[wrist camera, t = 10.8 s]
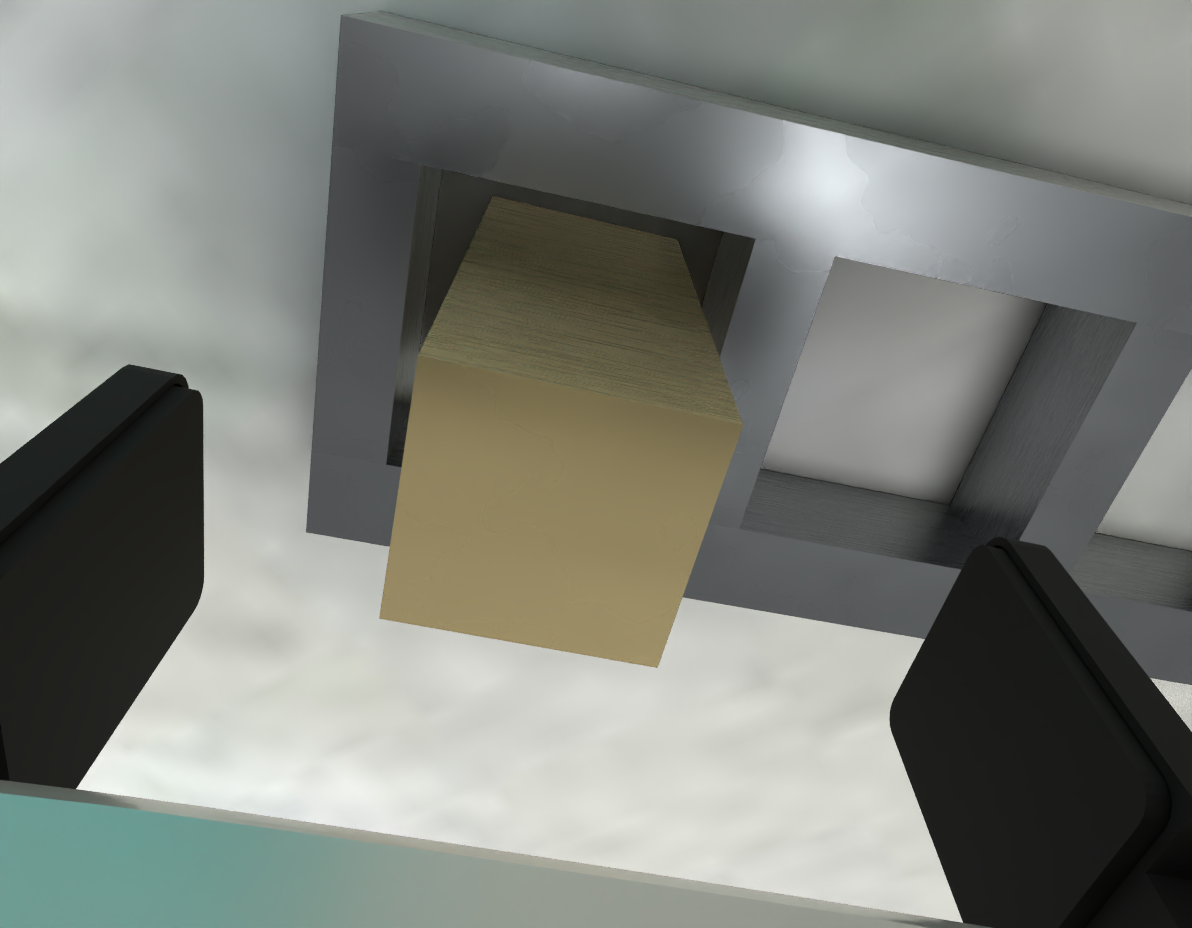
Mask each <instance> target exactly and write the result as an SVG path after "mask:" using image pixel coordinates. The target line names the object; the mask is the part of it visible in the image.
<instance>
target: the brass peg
mask: <svg viewBox="0 0 1192 928" xmlns="http://www.w3.org/2000/svg"><path fill="white" fill-rule="evenodd" d="M742 427H743V423H742V420H741V417H740V414H739V412H738V409H737V406H736V403H735V400H734V398H733V395H732V392H731V389H730V386H729V383H728V381H727V378H726V375H725V372H724V369H723V367H722V364H721V361H720V358H719V355H718V352H717V350H716V347H715V344H714V341H713V338H712V336H711V333H710V330H709V327H708V324H707V321H706V319H705V316H704V313H703V310H702V307H701V304H700V302H699V299H698V296H697V293H696V290H695V288H694V285H693V282H692V279H691V276H690V273H689V271H688V268H687V265H686V262H685V259H684V257H683V254H682V251H681V248H680V245H679V242H678V240H677V239H673V238H669V237H665V236H660V235H656V234H652V233H648V232H643V231H639V230H635V229H631V228H627V227H622V226H618V225H614V224H610V223H606V222H601V221H597V220H593V219H589V218H585V217H580V216H576V215H572V214H568V213H564V212H559V211H555V210H551V209H547V208H543V207H538V206H534V205H530V204H526V203H522V202H517V201H513V200H509V199H505V198H500V197H496V196H493V197H492V199H491V201H490V203H489V205H488V207H487V210H486V212H485V214H484V216H483V218H482V220H481V222H480V225H479V227H478V229H477V231H476V233H475V235H474V237H473V239H472V242H471V244H470V246H469V248H468V250H467V252H466V254H465V256H464V259H463V261H462V263H461V265H460V267H459V269H458V271H457V274H456V276H455V278H454V280H453V282H452V284H451V286H450V288H449V291H448V293H447V295H446V297H445V299H444V301H443V303H442V305H441V308H440V310H439V312H438V314H437V316H436V318H435V320H434V322H433V325H432V327H431V329H430V331H429V333H428V335H427V337H426V340H425V342H424V344H423V346H422V348H421V350H420V352H419V354H418V359H417V366H416V372H415V379H414V386H413V393H412V400H411V407H410V413H409V420H408V427H407V434H406V441H405V447H404V454H403V461H402V468H401V475H400V482H399V488H398V495H397V502H396V509H395V516H394V522H393V529H392V536H391V543H390V550H389V557H388V563H387V570H386V577H385V584H384V591H383V597H382V604H381V611H380V618H379V619H385V620H391V621H396V622H402V623H408V624H413V625H419V626H425V627H430V628H436V629H442V630H447V631H453V632H458V633H464V634H470V635H475V636H481V637H487V638H492V639H498V640H504V641H509V642H515V643H520V644H526V645H532V646H537V647H543V648H549V649H554V650H560V651H566V652H571V653H577V654H583V655H588V656H594V657H599V658H605V659H611V660H616V661H622V662H628V663H633V664H639V665H645V666H650V667H656V668H657V667H658V665H659V662H660V659H661V656H662V653H663V651H664V648H665V645H666V642H667V639H668V636H669V634H670V631H671V628H672V625H673V622H674V619H675V617H676V614H677V611H678V608H679V605H680V602H681V600H682V597H683V594H684V591H685V588H686V585H687V583H688V580H689V577H690V574H691V571H692V569H693V566H694V563H695V560H696V557H697V554H698V552H699V549H700V546H701V543H702V540H703V537H704V535H705V532H706V529H707V526H708V523H709V520H710V518H711V515H712V512H713V509H714V506H715V503H716V501H717V498H718V495H719V492H720V489H721V487H722V484H723V481H724V478H725V475H726V472H727V470H728V467H729V464H730V461H731V458H732V455H733V453H734V450H735V447H736V444H737V441H738V438H739V436H740V433H741V430H742Z"/></svg>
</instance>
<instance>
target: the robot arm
mask: <svg viewBox="0 0 1192 928" xmlns="http://www.w3.org/2000/svg"><path fill="white" fill-rule="evenodd" d="M203 584H204V480H203V399H202V396H201V393H200V392H199V391H197V390H192V389H189V388H188V384H187V381H186V378H185V377H184V376H183V375H181V374H176V373H170V372H165V371H160V370H155V369H150V368H145V367H140V366H135V365H127V366H124V367H123V368H121V369H120V370H119V371H117V372H116V373H115V374H114V375H112V376H111V377H110V378H109V379H107V380H106V381H105V382H103V383H102V384H101V385H100V386H98V387H97V388H96V389H95V390H93V391H92V392H91V393H90V394H88V395H87V396H86V397H84V398H83V399H82V400H81V401H79V402H78V403H77V404H76V405H74V406H73V407H72V408H70V409H69V410H68V411H67V412H65V413H64V414H63V415H62V416H60V417H59V418H58V419H56V420H55V421H54V422H53V423H51V424H50V425H49V426H48V427H46V428H45V429H44V430H43V431H41V432H40V433H39V434H37V435H36V436H35V437H34V438H32V439H31V440H30V441H29V442H27V443H26V444H25V445H23V446H22V447H21V448H20V449H18V450H17V451H16V452H15V453H13V454H12V455H11V456H10V457H8V458H7V459H6V460H4V461H3V462H2V463H1V464H0V928H1192V732H1191V731H1190V729H1189V728H1188V727H1187V725H1186V724H1185V723H1184V722H1183V720H1182V719H1181V718H1180V716H1179V715H1178V714H1177V713H1176V711H1175V710H1174V709H1173V707H1172V706H1171V705H1170V704H1169V702H1168V701H1167V700H1166V698H1165V697H1164V696H1163V695H1162V693H1161V692H1160V691H1159V689H1158V688H1157V687H1156V685H1155V684H1154V683H1153V682H1152V680H1151V679H1150V678H1149V676H1148V675H1147V674H1146V673H1145V671H1144V670H1143V669H1142V667H1141V666H1140V665H1139V664H1138V662H1137V661H1136V660H1135V658H1134V657H1133V656H1132V655H1131V653H1130V652H1129V651H1128V649H1127V648H1126V647H1125V646H1124V644H1123V643H1122V642H1121V640H1120V639H1119V638H1118V637H1117V635H1116V634H1115V633H1114V631H1113V630H1112V629H1111V628H1110V626H1109V625H1108V624H1107V622H1106V621H1105V620H1104V619H1103V617H1102V616H1101V615H1100V613H1099V612H1098V611H1097V609H1096V608H1095V607H1094V606H1093V604H1092V603H1091V602H1090V600H1089V599H1088V598H1087V597H1086V595H1085V594H1084V593H1083V591H1082V590H1081V589H1080V588H1079V586H1078V585H1077V584H1076V582H1075V581H1074V580H1073V579H1072V577H1071V576H1070V575H1069V573H1068V572H1067V571H1066V570H1065V568H1064V567H1063V566H1062V564H1061V563H1060V562H1059V561H1058V559H1057V558H1056V557H1055V555H1054V554H1053V553H1052V552H1051V550H1049V549H1048V548H1047V547H1046V546H1043V545H1039V544H1034V543H1029V542H1024V541H1019V540H1014V539H1009V538H1004V537H996V538H993V539H991V540H990V541H989V542H988V543H987V544H986V545H979V546H977V547H975V548H974V549H973V550H972V552H971V553H970V555H969V556H968V558H967V560H966V562H965V564H964V566H963V568H962V570H961V572H960V573H959V575H958V577H957V579H956V581H955V583H954V585H953V587H952V589H951V591H950V593H949V594H948V596H947V598H946V600H945V602H944V604H943V606H942V608H941V610H940V612H939V614H938V616H937V617H936V619H935V621H934V623H933V625H932V627H931V629H930V631H929V633H928V635H927V637H926V638H925V640H924V642H923V644H922V646H921V648H920V650H919V652H918V654H917V656H916V658H915V660H914V661H913V663H912V665H911V667H910V669H909V671H908V673H907V675H906V677H905V679H904V681H903V682H902V684H901V686H900V688H899V690H898V692H897V694H896V696H895V698H894V700H893V702H892V705H891V710H890V728H891V731H892V734H893V737H894V740H895V742H896V745H897V748H898V750H899V753H900V756H901V758H902V761H903V764H904V766H905V769H906V772H907V774H908V777H909V780H910V782H911V785H912V788H913V790H914V793H915V796H916V798H917V801H918V804H919V806H920V809H921V812H922V814H923V817H924V820H925V822H926V825H927V828H928V830H929V833H930V836H931V838H932V841H933V843H934V846H935V849H936V851H937V854H938V857H939V859H940V862H941V865H942V867H943V870H944V873H945V875H946V878H947V881H948V883H949V886H950V889H951V891H952V894H953V897H954V899H955V902H956V905H957V907H958V910H959V913H960V915H961V918H962V921H963V923H960V922H954V921H948V920H941V919H935V918H929V917H923V916H916V915H910V914H904V913H898V912H891V911H885V910H879V909H873V908H866V907H860V906H854V905H848V904H841V903H835V902H829V901H823V900H816V899H810V898H804V897H797V896H791V895H784V894H778V893H771V892H765V891H759V890H752V889H746V888H739V887H733V886H726V885H720V884H713V883H707V882H701V881H694V880H688V879H681V878H675V877H668V876H662V875H655V874H649V873H642V872H636V871H629V870H623V869H616V868H610V867H603V866H597V865H590V864H584V863H577V862H570V861H564V860H557V859H551V858H544V857H538V856H531V855H525V854H518V853H512V852H505V851H499V850H492V849H485V848H479V847H472V846H465V845H459V844H452V843H445V842H438V841H432V840H425V839H418V838H411V837H405V836H398V835H391V834H384V833H378V832H371V831H364V830H357V829H351V828H344V827H337V826H330V825H324V824H317V823H310V822H303V821H297V820H290V819H283V818H276V817H270V816H263V815H256V814H249V813H243V812H236V811H229V810H222V809H216V808H209V807H202V806H195V805H187V804H180V803H173V802H165V801H158V800H151V799H143V798H136V797H129V796H121V795H114V794H107V793H99V792H92V791H84V790H77V789H76V788H77V786H78V785H79V783H80V782H81V780H82V779H83V777H84V776H85V774H86V773H87V771H88V770H89V768H90V767H91V765H92V764H93V762H94V761H95V759H96V758H97V756H98V755H99V753H100V752H101V750H102V749H103V747H104V746H105V744H106V743H107V741H108V740H109V738H110V737H111V735H112V734H113V732H114V731H115V729H116V728H117V726H118V725H119V723H120V722H121V720H122V719H123V717H124V716H125V714H126V713H127V711H128V710H129V708H130V707H131V705H132V704H133V702H134V701H135V699H136V698H137V696H138V695H139V693H140V692H141V690H142V689H143V687H144V686H145V684H146V682H147V681H148V679H149V678H150V676H151V675H152V673H153V672H154V670H155V669H156V667H157V666H158V664H159V663H160V661H161V660H162V658H163V657H164V655H165V654H166V652H167V651H168V649H169V648H170V646H171V645H172V643H173V642H174V640H175V639H176V637H177V636H178V634H179V633H180V631H181V630H182V628H183V627H184V625H185V624H186V622H187V621H188V619H189V618H190V616H191V615H192V613H193V612H194V610H195V608H196V606H197V604H198V602H199V599H200V596H201V593H202V589H203Z"/></svg>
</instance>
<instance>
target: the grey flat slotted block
mask: <svg viewBox="0 0 1192 928" xmlns="http://www.w3.org/2000/svg"><path fill="white" fill-rule="evenodd" d="M442 169H443V170H447V171H452V172H456V173H461V174H465V175H470V176H474V177H479V178H483V179H488V180H492V181H497V182H502V183H506V184H511V185H515V186H520V187H524V188H529V189H533V190H538V191H542V192H547V193H551V194H556V195H560V196H565V197H569V198H574V199H578V200H583V201H587V202H592V203H597V204H601V205H606V206H610V207H615V208H619V209H624V210H628V211H633V212H637V213H642V214H646V215H651V216H655V217H660V218H664V219H669V220H673V221H678V222H682V223H687V224H692V225H696V226H701V227H705V228H710V229H714V230H719V231H723V234H722V238H721V241H720V245H719V248H718V252H717V255H716V259H715V262H714V266H713V269H712V273H711V276H710V280H709V283H708V287H707V290H706V294H705V297H704V301H703V304H702V310H703V313H704V316H705V319H706V321H707V324H708V327H709V330H710V333H711V336H712V338H713V341H714V344H715V347H716V350H717V352H718V355H719V358H720V361H721V364H722V367H723V369H724V372H725V375H726V378H727V381H728V383H729V386H730V389H731V392H732V395H733V398H734V400H735V403H736V406H737V409H738V412H739V414H740V417H741V420H742V423H743V427H742V430H741V433H740V436H739V438H738V441H737V444H736V447H735V450H734V453H733V455H732V458H731V461H730V464H729V467H728V470H727V472H726V475H725V478H724V481H723V484H722V487H721V489H720V492H719V495H718V498H717V501H716V503H715V506H714V509H713V512H712V515H711V518H710V520H709V523H708V526H707V529H706V532H705V535H704V537H703V540H702V543H701V546H700V549H699V552H698V554H697V557H696V560H695V563H694V566H693V569H692V571H691V574H690V577H689V580H688V583H687V585H686V588H685V591H684V594H683V597H685V598H691V599H696V600H702V601H708V602H714V603H720V604H725V605H731V606H737V607H743V608H749V609H754V610H760V611H766V612H772V613H778V614H783V615H789V616H795V617H801V618H807V619H812V620H818V621H824V622H830V623H836V624H841V625H847V626H853V627H859V628H865V629H870V630H876V631H882V632H888V633H893V634H899V635H905V636H911V637H917V638H922V639H925V638H926V637H927V635H928V633H929V631H930V629H931V627H932V625H933V623H934V621H935V619H936V617H937V616H938V614H939V612H940V610H941V608H942V606H943V604H944V602H945V600H946V598H947V596H948V594H949V593H950V591H951V589H952V587H953V585H954V583H955V581H956V579H957V577H958V575H959V573H960V572H961V570H962V568H963V566H964V564H965V562H966V560H967V558H968V556H969V555H970V553H971V552H972V550H973V549H974V548H975V547H977V546H979V545H986V544H987V543H988V542H989V541H990V540H991V539H993V538H996V537H1004V538H1009V539H1014V540H1019V541H1024V542H1029V543H1034V544H1039V545H1043V546H1046V547H1047V548H1048V549H1049V550H1051V552H1052V553H1053V554H1054V555H1055V557H1056V558H1057V559H1058V561H1059V562H1060V563H1061V564H1062V566H1063V567H1064V568H1065V570H1066V571H1067V572H1068V573H1069V575H1070V576H1071V577H1072V579H1073V580H1074V581H1075V582H1076V584H1077V585H1078V586H1079V588H1080V589H1081V590H1082V591H1083V593H1084V594H1085V595H1086V597H1087V598H1088V599H1089V600H1090V602H1091V603H1092V604H1093V606H1094V607H1095V608H1096V609H1097V611H1098V612H1099V613H1100V615H1101V616H1102V617H1103V619H1104V620H1105V621H1106V622H1107V624H1108V625H1109V626H1110V628H1111V629H1112V630H1113V631H1114V633H1115V634H1116V635H1117V637H1118V638H1119V639H1120V640H1121V642H1122V643H1123V644H1124V646H1125V647H1126V648H1127V649H1128V651H1129V652H1130V653H1131V655H1132V656H1133V657H1134V658H1135V660H1136V661H1137V662H1138V664H1139V665H1140V666H1141V667H1142V669H1143V670H1144V671H1145V673H1146V674H1147V675H1148V676H1149V678H1154V679H1160V680H1166V681H1172V682H1177V683H1183V684H1189V685H1192V552H1190V551H1185V550H1180V549H1175V548H1170V547H1164V546H1159V545H1154V544H1149V543H1143V542H1138V541H1133V540H1128V539H1122V538H1117V537H1112V536H1107V535H1101V534H1096V533H1095V531H1096V529H1097V528H1098V526H1099V524H1100V523H1101V521H1102V519H1103V517H1104V516H1105V514H1106V512H1107V511H1108V509H1109V507H1110V506H1111V504H1112V502H1113V501H1114V499H1115V497H1116V495H1117V494H1118V492H1119V490H1120V489H1121V487H1122V485H1123V484H1124V482H1125V480H1126V479H1127V477H1128V475H1129V473H1130V472H1131V470H1132V468H1133V467H1134V465H1135V463H1136V462H1137V460H1138V458H1139V456H1140V455H1141V453H1142V451H1143V450H1144V448H1145V446H1146V445H1147V443H1148V441H1149V440H1150V438H1151V436H1152V434H1153V433H1154V431H1155V429H1156V428H1157V426H1158V424H1159V423H1160V421H1161V419H1162V417H1163V416H1164V414H1165V412H1166V411H1167V409H1168V407H1169V406H1170V404H1171V402H1172V401H1173V399H1174V397H1175V395H1176V394H1177V392H1178V390H1179V389H1180V387H1181V385H1182V384H1183V382H1184V380H1185V378H1186V377H1187V375H1188V373H1189V372H1190V370H1191V368H1192V205H1190V204H1186V203H1182V202H1178V201H1173V200H1169V199H1165V198H1161V197H1157V196H1153V195H1148V194H1144V193H1140V192H1136V191H1132V190H1127V189H1123V188H1119V187H1115V186H1111V185H1107V184H1102V183H1098V182H1094V181H1090V180H1086V179H1081V178H1077V177H1073V176H1069V175H1065V174H1061V173H1056V172H1052V171H1048V170H1044V169H1040V168H1035V167H1031V166H1027V165H1023V164H1019V163H1015V162H1010V161H1006V160H1002V159H998V158H994V157H989V156H985V155H981V154H977V153H973V152H968V151H964V150H960V149H956V148H952V147H948V146H943V145H939V144H935V143H931V142H927V141H922V140H918V139H914V138H910V137H906V136H902V135H897V134H893V133H889V132H885V131H881V130H876V129H872V128H868V127H864V126H860V125H856V124H851V123H847V122H843V121H839V120H835V119H830V118H826V117H822V116H818V115H814V114H810V113H805V112H801V111H797V110H793V109H789V108H784V107H780V106H776V105H772V104H768V103H763V102H759V101H755V100H751V99H747V98H743V97H738V96H734V95H730V94H726V93H722V92H717V91H713V90H709V89H705V88H701V87H697V86H692V85H688V84H684V83H680V82H676V81H671V80H667V79H663V78H659V77H655V76H651V75H646V74H642V73H638V72H634V71H630V70H625V69H621V68H617V67H613V66H609V65H605V64H600V63H596V62H592V61H588V60H584V59H579V58H575V57H571V56H567V55H563V54H559V53H554V52H550V51H546V50H542V49H538V48H533V47H529V46H525V45H521V44H517V43H512V42H508V41H504V40H500V39H496V38H492V37H487V36H483V35H479V34H475V33H471V32H466V31H462V30H458V29H454V28H450V27H446V26H441V25H437V24H433V23H429V22H425V21H420V20H416V19H412V18H408V17H404V16H400V15H395V14H391V13H387V12H383V11H377V12H367V13H357V14H348V15H341V23H340V38H339V52H338V67H337V82H336V97H335V112H334V127H333V142H332V156H331V171H330V186H329V201H328V216H327V231H326V246H325V260H324V275H323V290H322V305H321V320H320V335H319V350H318V364H317V379H316V394H315V409H314V424H313V439H312V454H311V468H310V483H309V498H308V513H307V528H306V532H308V533H314V534H320V535H326V536H331V537H337V538H343V539H349V540H354V541H360V542H366V543H372V544H378V545H383V546H389V547H390V543H391V536H392V529H393V522H394V516H395V509H396V502H397V495H398V488H399V482H400V475H401V468H402V461H403V454H404V447H405V441H406V434H407V427H408V420H409V413H410V407H411V400H412V393H413V386H414V379H415V372H416V366H417V359H418V354H419V348H420V340H421V333H422V325H423V317H424V309H425V301H426V293H427V285H428V277H429V270H430V262H431V254H432V246H433V238H434V230H435V222H436V214H437V207H438V199H439V191H440V183H441V175H442ZM835 256H836V257H841V258H845V259H850V260H854V261H859V262H863V263H868V264H873V265H877V266H882V267H886V268H891V269H895V270H900V271H904V272H909V273H913V274H918V275H922V276H927V277H931V278H936V279H940V280H945V281H949V282H954V283H959V284H963V285H968V286H972V287H977V288H981V289H986V290H990V291H995V292H999V293H1004V294H1008V295H1013V296H1017V297H1022V298H1026V299H1031V300H1035V301H1040V302H1044V303H1048V304H1047V306H1046V308H1045V310H1044V312H1043V314H1042V317H1041V319H1040V321H1039V323H1038V325H1037V327H1036V329H1035V331H1034V333H1033V335H1032V337H1031V339H1030V341H1029V343H1028V345H1027V347H1026V350H1025V352H1024V354H1023V356H1022V358H1021V360H1020V362H1019V364H1018V366H1017V368H1016V370H1015V372H1014V374H1013V376H1012V378H1011V380H1010V383H1009V385H1008V387H1007V389H1006V391H1005V393H1004V395H1003V397H1002V399H1001V401H1000V403H999V405H998V407H997V409H996V411H995V413H994V415H993V418H992V420H991V422H990V424H989V426H988V428H987V430H986V432H985V434H984V436H983V438H982V440H981V442H980V444H979V446H978V448H977V451H976V453H975V455H974V457H973V459H972V461H971V463H970V465H969V467H968V469H967V471H966V473H965V475H964V477H963V479H962V481H961V483H960V486H959V488H958V490H957V492H956V494H955V496H954V498H953V500H952V502H951V504H950V505H944V504H939V503H934V502H929V501H923V500H918V499H913V498H908V497H902V496H897V495H892V494H887V493H882V492H876V491H871V490H866V489H861V488H855V487H850V486H845V485H840V484H834V483H829V482H824V481H819V480H813V479H808V478H803V477H798V476H793V475H787V474H782V473H777V472H772V471H766V470H761V469H760V468H761V465H762V462H763V459H764V456H765V454H766V451H767V448H768V445H769V442H770V439H771V437H772V434H773V431H774V428H775V425H776V422H777V420H778V417H779V414H780V411H781V408H782V406H783V403H784V400H785V397H786V394H787V391H788V389H789V386H790V383H791V380H792V377H793V374H794V372H795V369H796V366H797V363H798V360H799V357H800V355H801V352H802V349H803V346H804V343H805V340H806V338H807V335H808V332H809V329H810V326H811V323H812V321H813V318H814V315H815V312H816V309H817V306H818V304H819V301H820V298H821V295H822V292H823V289H824V287H825V284H826V281H827V278H828V275H829V272H830V270H831V267H832V264H833V261H834V258H835Z"/></svg>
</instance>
